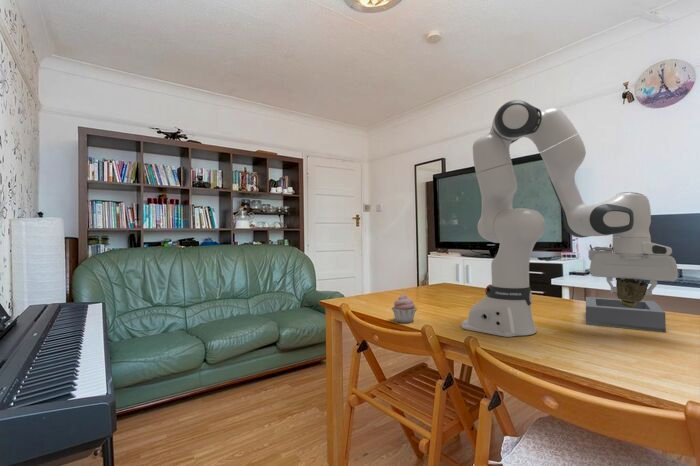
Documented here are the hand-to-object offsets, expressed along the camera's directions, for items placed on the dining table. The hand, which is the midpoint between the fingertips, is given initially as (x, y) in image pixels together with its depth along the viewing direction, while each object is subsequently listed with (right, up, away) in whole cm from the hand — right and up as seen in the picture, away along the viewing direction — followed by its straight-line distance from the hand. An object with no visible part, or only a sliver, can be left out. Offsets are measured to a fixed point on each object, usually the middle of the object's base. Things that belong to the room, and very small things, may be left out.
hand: (630, 294), depth 103 cm
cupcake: (-63, -14, +24) cm, 69 cm away
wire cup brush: (0, -4, +1) cm, 4 cm away
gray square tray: (+10, -12, +16) cm, 23 cm away
